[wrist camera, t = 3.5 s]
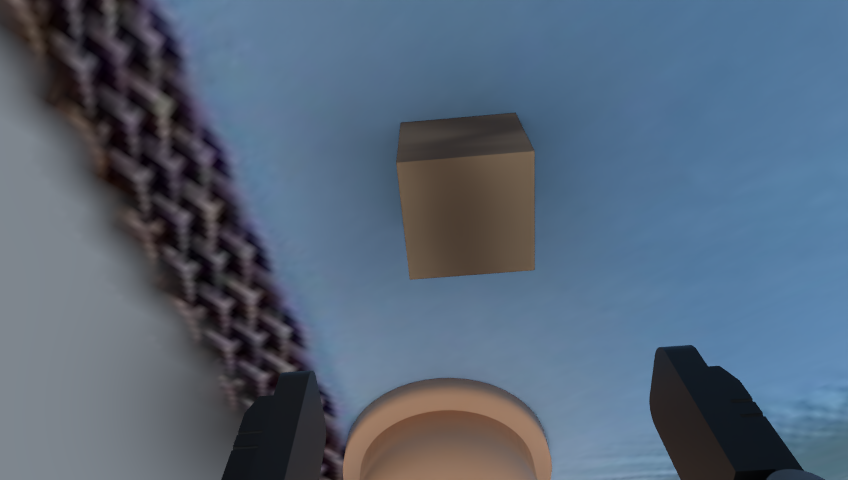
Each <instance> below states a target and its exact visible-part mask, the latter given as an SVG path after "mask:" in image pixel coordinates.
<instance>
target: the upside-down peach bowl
mask: <svg viewBox="0 0 848 480" xmlns="http://www.w3.org/2000/svg"><path fill="white" fill-rule="evenodd" d="M551 472H552V464H551V456H550V452H549V448H548V444H547V440H546V436H545V433H544V430H543V427H542V425H541V423H540V421H539V420H538V418H537V417H536V415H535V414H534V413H533V411H532V410H531V409H530V408H529V407H528V406H527V405H526V404H525V403H523V402H522V401H521V400H519V399H518V398H517V397H515V396H514V395H512V394H510V393H508V392H507V391H505V390H502V389H500V388H498V387H496V386H493V385H490V384H486V383H483V382H479V381H474V380H469V379H458V378H437V379H429V380H423V381H418V382H414V383H410V384H407V385H404V386H401V387H398V388H396V389H394V390H392V391H390V392H388V393H386V394H384V395H383V396H381V397H379V398H378V399H376V400H375V401H374V402H372V403H371V404H370V405H369V406H368V407H366V408H365V410H364V411H363V412H362V413H361V414H360V415H359V416H358V418H357V419H356V421H355V422H354V424H353V426H352V428H351V430H350V432H349V435H348V439H347V443H346V449H345V456H344V463H343V478H344V480H550V479H551Z"/></svg>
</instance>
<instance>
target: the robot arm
mask: <svg viewBox="0 0 848 480" xmlns="http://www.w3.org/2000/svg"><path fill="white" fill-rule="evenodd" d="M650 411H651V416H652V419H653V422H654V425H655V427H656V429H657V431H658V433H659V435H660V437H661V440H662V442H663V444H664V446H665V448H666V450H667V452H668V454H669V456H670V458H671V460H672V463H673V465H674V467H675V469H676V471H677V473H678V475H679V477H680V479H681V480H825V479H823V478H821V477H819V476H817V475H814V474H812V473H809V472H806V471H804V470H803V469H802V467H801V466H800V464H799V463H798V462H797V460H796V459H795V457H794V456H793V455H792V453H791V452H790V450H789V449H788V448H787V446H786V445H785V443H784V442H783V441H782V439H781V438H780V436H779V435H778V434H777V432H776V431H775V429H774V428H773V427H772V425H771V424H770V422H769V421H768V420H767V418H766V417H763V413H762V411H761V410H760V408H759V407H758V406H757V404H756V403H755V402H753V401H752V397H751V396H750V394H749V393H748V392H747V390H746V389H745V387H744V386H743V385H742V383H741V382H740V381H739V380H738V379H737V378H735V377H734V376H733V375H731V374H730V373H729V372H727V371H726V370H724V369H723V368H722V367H720V366H710V367H708V366H707V364H706V363H705V361H704V360H703V358H702V357H701V355H700V354H699V352H698V351H697V349H696V348H695V347H694V346H692V345H685V346H671V347H659V348H658V349H657V350H656V353H655V360H654V367H653V375H652V383H651V390H650ZM325 440H326V426H325V418H324V413H323V408H322V403H321V399H320V394H319V389H318V384H317V380H316V376H315V373H314V371H299V372H285V373H281V374H280V376H279V379H278V383H277V386H276V389H275V392H274V395H273V396H259V397H258V399H257V400H256V401H255V402H254V403H253V404H252V406H251V407H250V408H249V409H248V410H247V411H246V412H245V414H244V417H243V420H242V423H241V425H240V428H239V431H238V435H237V437H236V440H235V442H234V445H233V451H231V454H230V457H229V460H228V462H227V465H226V468H225V471H224V474H223V477H222V480H319V477H320V471H321V465H322V460H323V454H324V448H325Z"/></svg>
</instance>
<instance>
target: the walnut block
mask: <svg viewBox="0 0 848 480" xmlns="http://www.w3.org/2000/svg"><path fill="white" fill-rule="evenodd" d="M396 165H397V174H398V182H399V191H400V199H401V208H402V216H403V225H404V234H405V242H406V251H407V259H408V268H409V276H410V280H411V279H424V278H437V277H450V276H464V275H477V274H490V273H503V272H516V271H529V270H535V151H534V149H533V147H532V145H531V143H530V141H529V139H528V137H527V135H526V133H525V131H524V129H523V127H522V125H521V123H520V121H519V119H518V117H517V115H516V113H507V114H495V115H484V116H472V117H461V118H449V119H438V120H426V121H415V122H404V123H401V124H400V133H399V142H398V151H397V160H396Z"/></svg>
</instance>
